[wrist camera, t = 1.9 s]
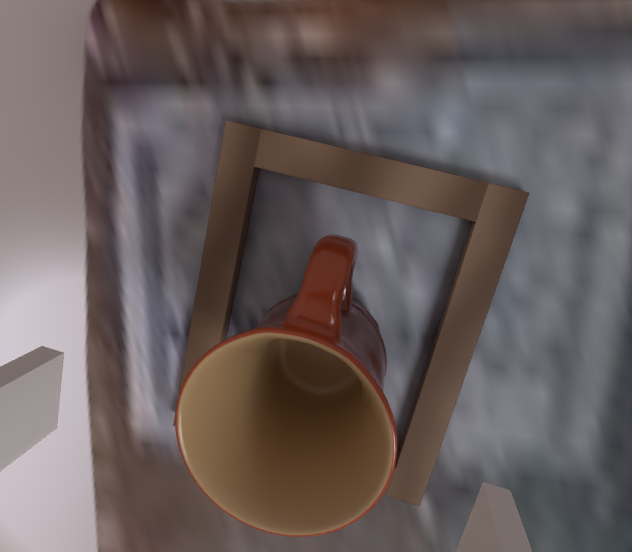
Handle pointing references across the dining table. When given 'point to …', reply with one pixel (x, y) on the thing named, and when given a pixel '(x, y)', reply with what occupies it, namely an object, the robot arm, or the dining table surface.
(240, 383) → the mug
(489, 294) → the frame
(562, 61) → the dining table surface
